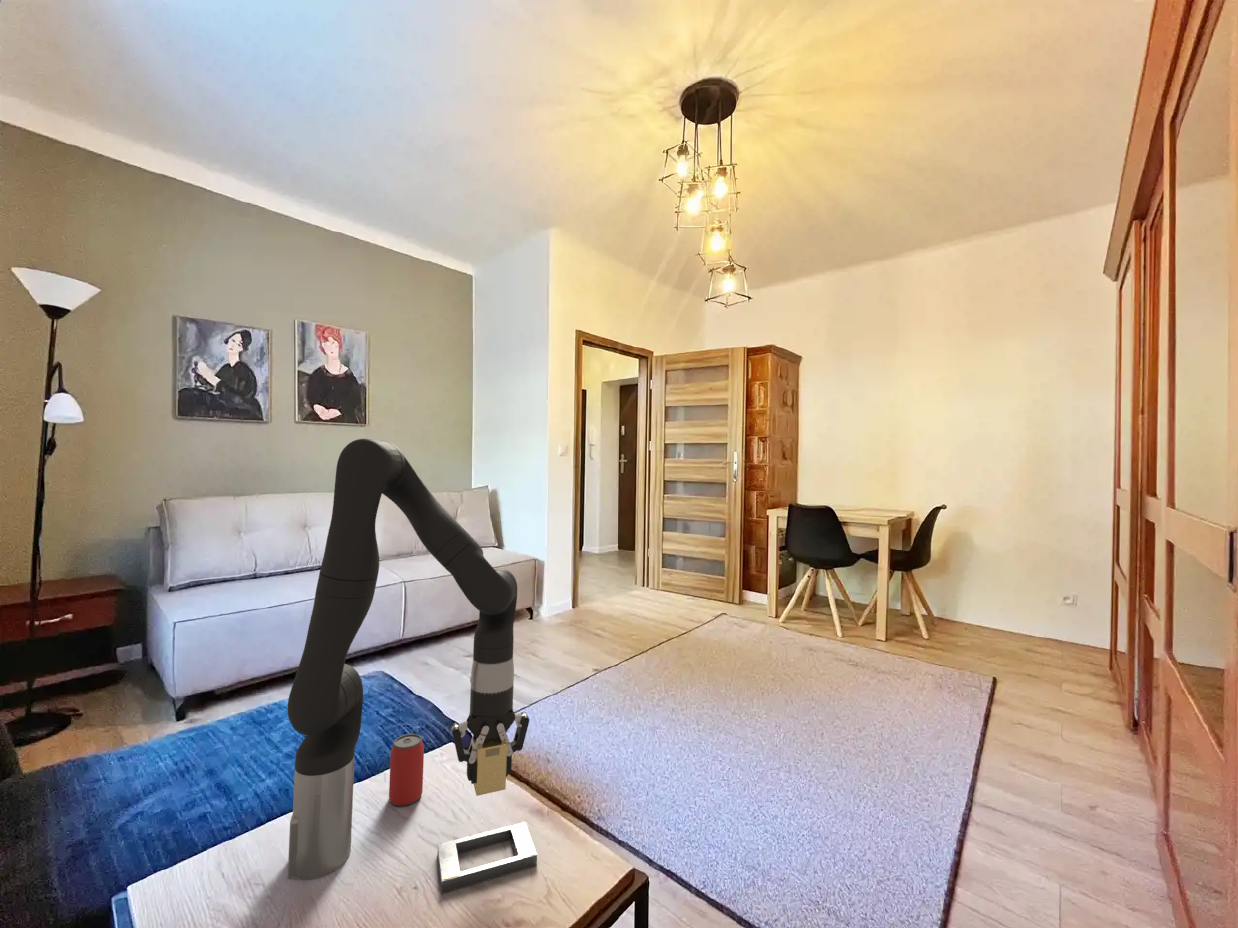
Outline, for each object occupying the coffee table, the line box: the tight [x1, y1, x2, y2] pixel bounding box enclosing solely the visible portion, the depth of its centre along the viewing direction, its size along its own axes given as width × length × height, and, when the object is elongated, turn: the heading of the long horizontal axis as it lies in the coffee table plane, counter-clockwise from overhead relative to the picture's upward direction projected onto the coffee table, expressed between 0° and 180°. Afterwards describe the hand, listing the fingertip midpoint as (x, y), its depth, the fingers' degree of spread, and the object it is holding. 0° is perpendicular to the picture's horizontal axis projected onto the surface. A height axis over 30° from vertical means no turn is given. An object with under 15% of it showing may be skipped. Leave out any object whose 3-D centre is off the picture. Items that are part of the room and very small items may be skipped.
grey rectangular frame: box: [436, 821, 538, 894], centre depth 90 cm, size 16×9×2 cm, turn 114°
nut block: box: [473, 739, 507, 797], centre depth 91 cm, size 5×5×8 cm
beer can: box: [388, 733, 425, 807], centre depth 107 cm, size 7×7×12 cm
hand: (489, 777), depth 90 cm, fingers closed on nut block, 5 cm apart
